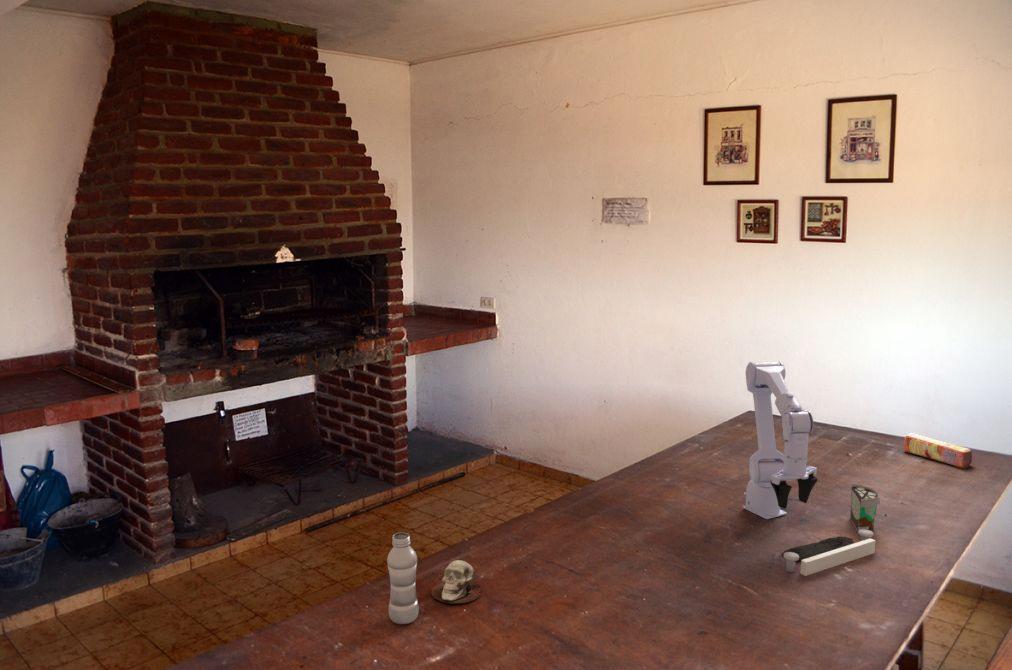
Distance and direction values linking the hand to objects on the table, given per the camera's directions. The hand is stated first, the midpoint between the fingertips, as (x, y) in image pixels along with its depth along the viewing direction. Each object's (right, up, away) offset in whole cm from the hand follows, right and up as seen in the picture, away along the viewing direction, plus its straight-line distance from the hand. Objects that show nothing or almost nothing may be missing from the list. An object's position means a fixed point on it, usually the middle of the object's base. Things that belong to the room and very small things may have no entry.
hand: (792, 504), depth 210 cm
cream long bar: (+6, -12, -10) cm, 17 cm away
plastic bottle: (-99, -18, -35) cm, 107 cm away
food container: (+24, -8, +9) cm, 27 cm away
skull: (-88, -16, -23) cm, 93 cm away
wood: (+5, -12, -6) cm, 14 cm away
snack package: (+72, +2, +62) cm, 95 cm away
